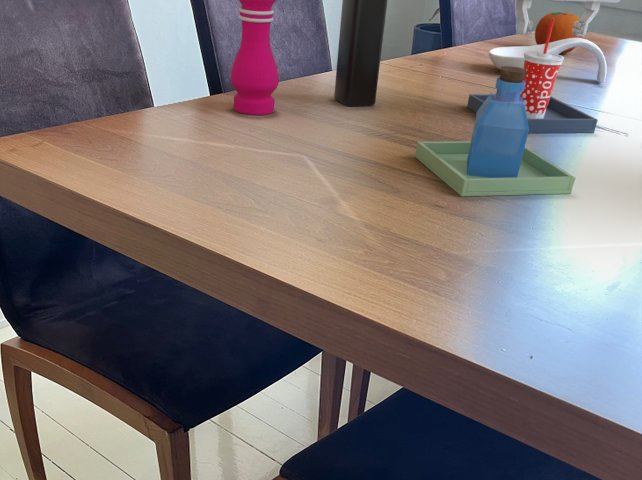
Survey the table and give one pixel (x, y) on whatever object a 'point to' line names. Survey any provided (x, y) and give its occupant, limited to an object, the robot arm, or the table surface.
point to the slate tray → (550, 117)
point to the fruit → (556, 28)
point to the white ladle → (516, 53)
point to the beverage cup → (539, 79)
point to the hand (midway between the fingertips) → (551, 34)
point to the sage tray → (531, 178)
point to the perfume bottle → (500, 129)
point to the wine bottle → (359, 51)
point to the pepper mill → (255, 60)
